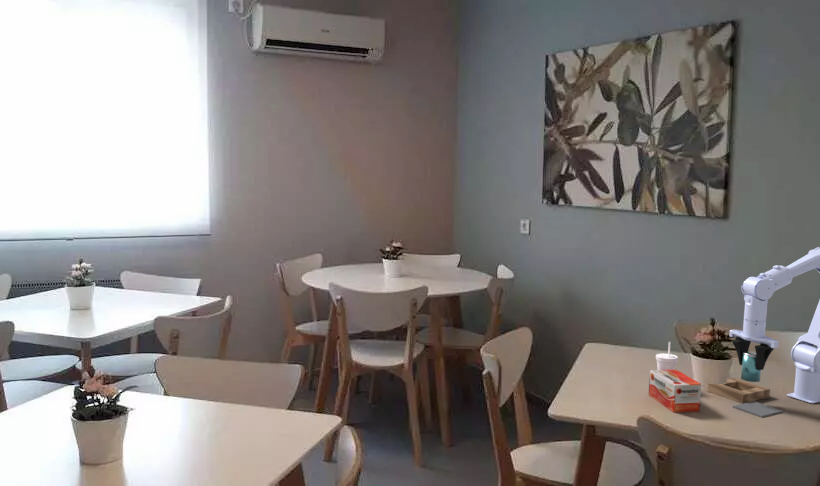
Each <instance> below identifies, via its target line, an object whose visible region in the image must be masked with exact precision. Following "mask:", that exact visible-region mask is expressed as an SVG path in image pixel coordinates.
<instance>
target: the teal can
mask: <svg viewBox="0 0 820 486" xmlns="http://www.w3.org/2000/svg"><path fill="white" fill-rule="evenodd" d="M756 361H757V356H756V351H751V350H748V351H744V352H743V359H742V365H741V373H740V380H743V381H746V382H749V383H752V382H753V383H758V382H760V381H761V375H762V370H757V369H756Z"/></svg>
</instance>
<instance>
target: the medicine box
mask: <svg viewBox="0 0 820 486" xmlns="http://www.w3.org/2000/svg"><path fill="white" fill-rule="evenodd" d="M648 381H649V383H648V396H649V397H650V398H651V399H654V401H656V402H657V403H659V404H660V405H662V406H663V407H664V408H666V409H667V410H668V411H670V412H672V413H691V412H693V413H695V412H700V407H701V395H702V394H701V393H702V383H700V382H699V381H697V380H695V379H694V378H692V377H690V376H688V375H687V374H685V373H683V372H682V371H680V370H677V368H675V369H674V370H657V369H651V370H649V380H648Z"/></svg>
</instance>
